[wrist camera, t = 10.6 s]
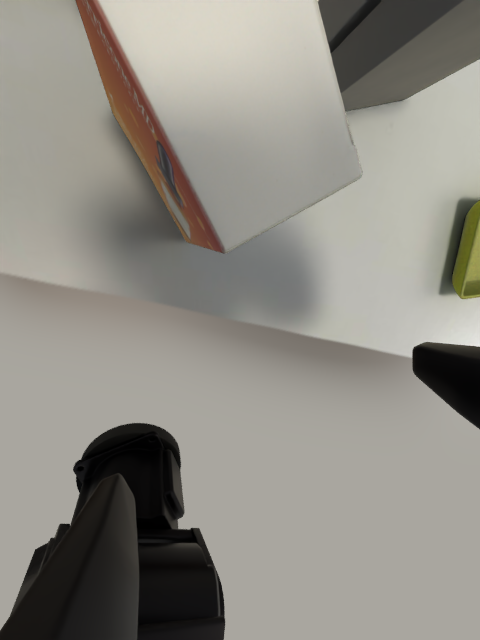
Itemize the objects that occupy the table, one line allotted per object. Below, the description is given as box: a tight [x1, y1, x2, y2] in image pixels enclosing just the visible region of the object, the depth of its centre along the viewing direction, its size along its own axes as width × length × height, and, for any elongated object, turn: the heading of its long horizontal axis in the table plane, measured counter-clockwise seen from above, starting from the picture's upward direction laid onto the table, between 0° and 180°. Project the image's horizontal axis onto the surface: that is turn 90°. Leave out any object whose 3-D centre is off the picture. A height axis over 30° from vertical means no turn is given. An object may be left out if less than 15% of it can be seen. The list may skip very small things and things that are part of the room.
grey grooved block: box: [318, 0, 480, 111], centre depth 13 cm, size 8×4×10 cm, turn 105°
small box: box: [76, 0, 362, 253], centre depth 12 cm, size 8×6×10 cm
